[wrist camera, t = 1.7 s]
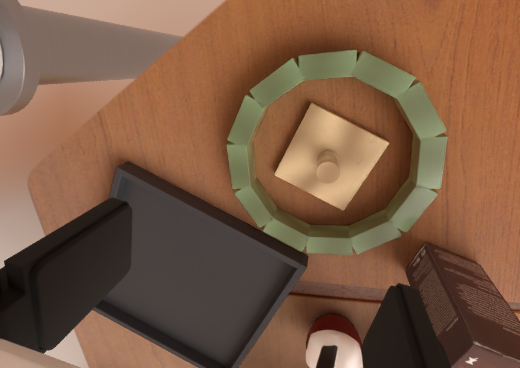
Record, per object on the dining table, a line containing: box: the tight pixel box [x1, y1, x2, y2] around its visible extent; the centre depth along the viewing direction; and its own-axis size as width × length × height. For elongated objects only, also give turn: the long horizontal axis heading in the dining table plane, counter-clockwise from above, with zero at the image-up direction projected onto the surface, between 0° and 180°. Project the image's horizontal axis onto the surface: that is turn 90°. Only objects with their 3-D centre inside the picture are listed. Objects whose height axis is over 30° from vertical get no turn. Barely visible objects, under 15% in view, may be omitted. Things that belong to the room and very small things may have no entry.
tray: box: [92, 161, 308, 368], centre depth 39 cm, size 24×24×2 cm
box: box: [405, 243, 520, 368], centre depth 26 cm, size 6×4×12 cm
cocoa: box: [306, 314, 363, 368], centre depth 31 cm, size 10×6×12 cm, turn 175°
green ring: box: [226, 49, 447, 255], centre depth 28 cm, size 19×19×3 cm
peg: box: [274, 102, 389, 211], centre depth 28 cm, size 8×8×5 cm
